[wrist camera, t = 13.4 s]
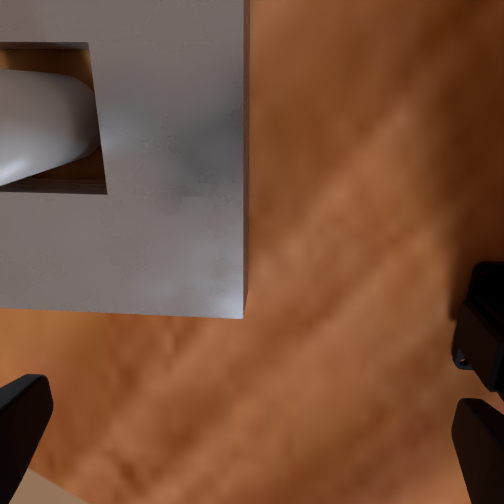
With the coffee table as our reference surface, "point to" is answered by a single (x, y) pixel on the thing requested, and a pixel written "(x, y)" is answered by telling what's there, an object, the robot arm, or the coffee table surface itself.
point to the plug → (44, 122)
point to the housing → (140, 164)
